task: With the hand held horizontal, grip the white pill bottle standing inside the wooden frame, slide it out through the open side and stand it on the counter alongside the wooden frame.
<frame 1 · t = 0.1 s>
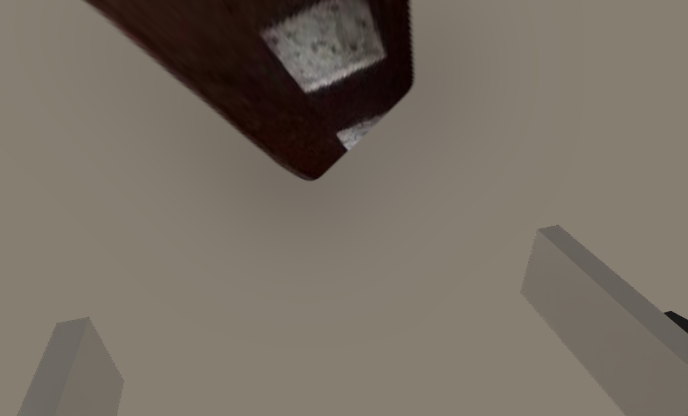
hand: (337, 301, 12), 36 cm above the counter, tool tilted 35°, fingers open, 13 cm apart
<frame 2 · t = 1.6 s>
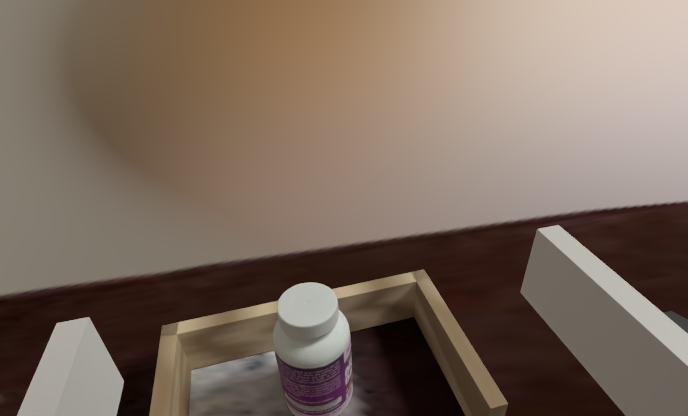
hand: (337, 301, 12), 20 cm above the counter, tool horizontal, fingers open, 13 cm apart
pill bottle: (319, 392, 32), on the counter
wooden frame: (320, 396, 32), on the counter
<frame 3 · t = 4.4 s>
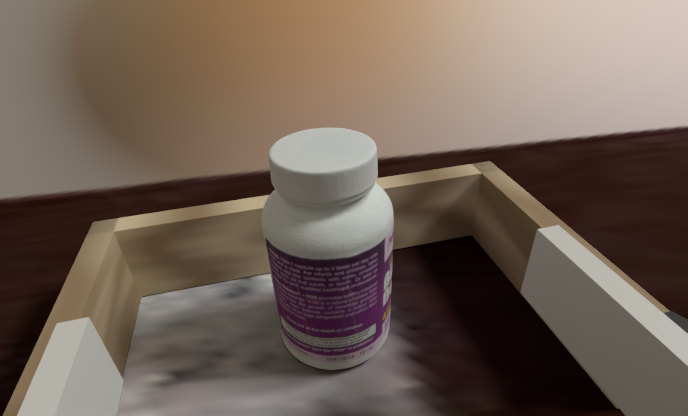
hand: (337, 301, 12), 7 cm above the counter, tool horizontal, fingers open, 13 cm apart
pill bottle: (336, 329, 20), on the counter
wooden frame: (338, 333, 20), on the counter
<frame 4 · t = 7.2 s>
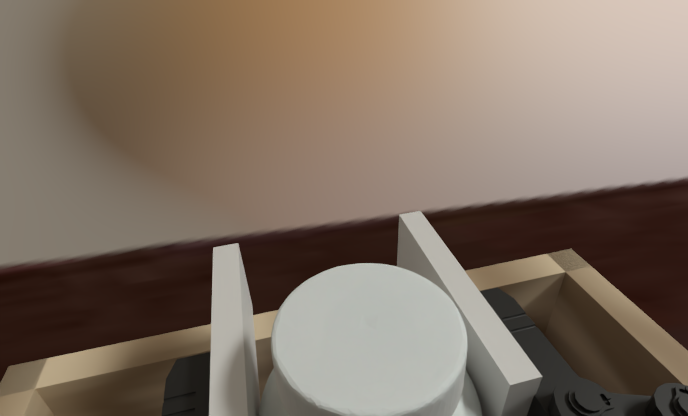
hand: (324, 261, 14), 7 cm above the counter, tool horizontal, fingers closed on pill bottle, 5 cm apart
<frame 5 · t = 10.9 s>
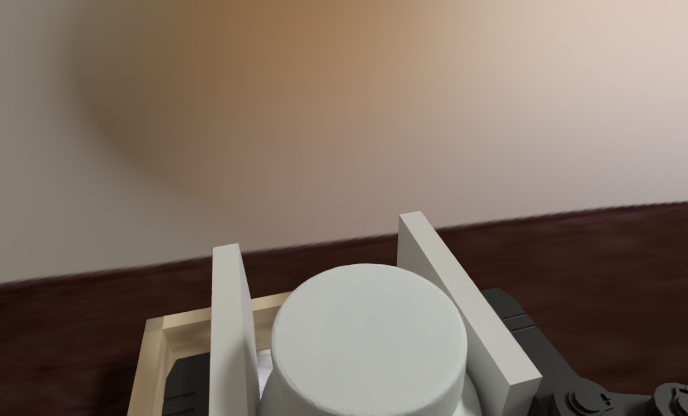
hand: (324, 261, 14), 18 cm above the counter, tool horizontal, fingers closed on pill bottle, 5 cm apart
wooden frame: (316, 399, 29), on the counter
when the fingers open (8 cm above the counter, at t = 14.6 s): pill bottle moves 1 cm, on the counter.
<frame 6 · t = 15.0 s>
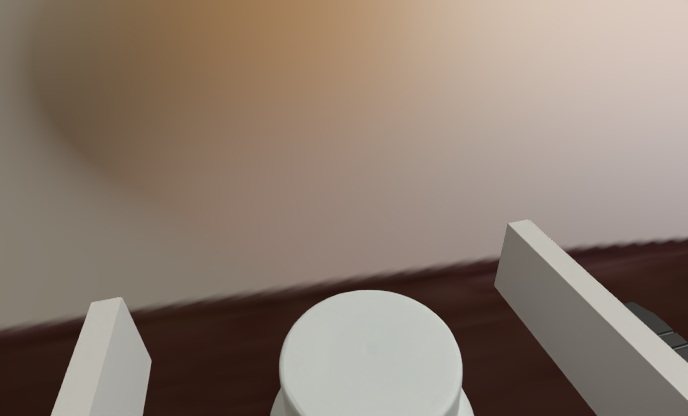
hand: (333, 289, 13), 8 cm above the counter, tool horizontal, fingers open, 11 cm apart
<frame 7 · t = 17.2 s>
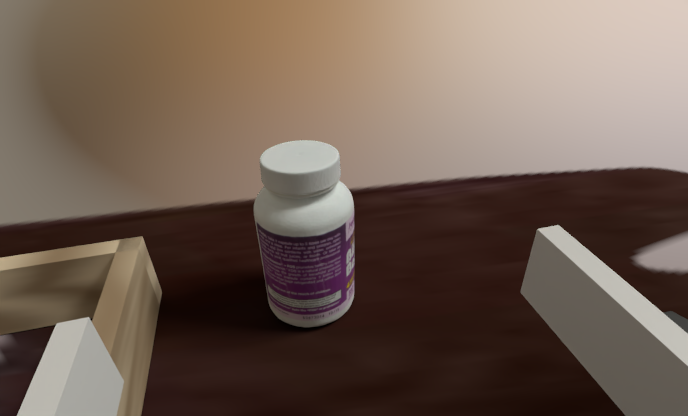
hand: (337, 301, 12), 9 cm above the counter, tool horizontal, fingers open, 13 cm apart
pill bottle: (312, 299, 26), on the counter
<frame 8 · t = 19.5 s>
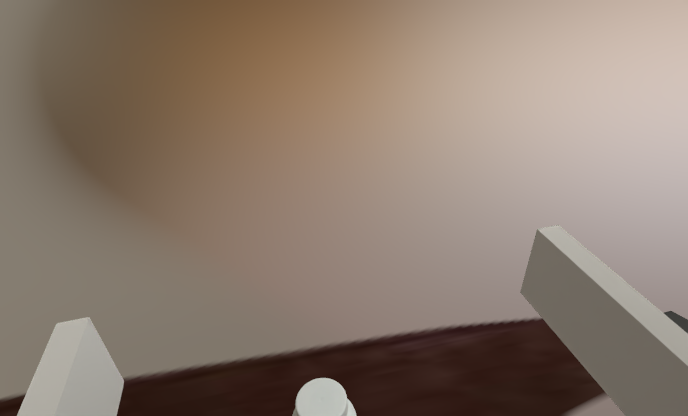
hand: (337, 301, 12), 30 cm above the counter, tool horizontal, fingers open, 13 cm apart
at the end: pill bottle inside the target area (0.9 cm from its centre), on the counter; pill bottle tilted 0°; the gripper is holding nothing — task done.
